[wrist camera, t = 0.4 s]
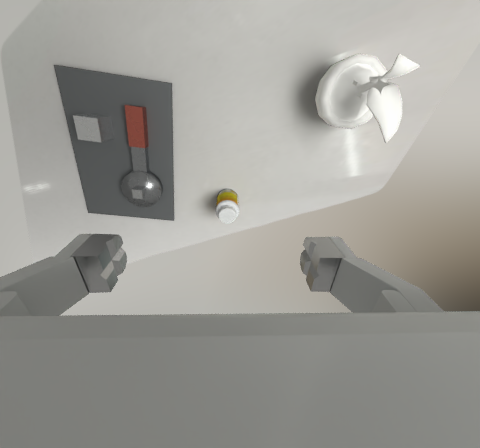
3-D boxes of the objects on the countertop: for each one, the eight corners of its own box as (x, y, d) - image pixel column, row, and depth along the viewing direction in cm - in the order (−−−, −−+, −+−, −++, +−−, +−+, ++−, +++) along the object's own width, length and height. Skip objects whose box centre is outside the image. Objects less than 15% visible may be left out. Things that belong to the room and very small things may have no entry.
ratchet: (115, 102, 46) (103, 103, 41) (159, 108, 47) (152, 110, 42) (127, 201, 57) (119, 209, 52) (163, 204, 58) (158, 213, 53)
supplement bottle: (214, 191, 57) (211, 208, 48) (234, 185, 57) (236, 202, 48) (220, 209, 60) (219, 229, 51) (240, 204, 59) (242, 223, 50)
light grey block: (88, 113, 46) (72, 115, 42) (110, 116, 47) (97, 118, 42) (92, 135, 49) (78, 139, 44) (113, 138, 49) (101, 142, 44)
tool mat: (56, 65, 43) (53, 64, 42) (171, 83, 45) (171, 83, 44) (89, 211, 58) (88, 212, 58) (174, 219, 61) (173, 220, 60)
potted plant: (305, 67, 45) (377, 37, 23) (363, 56, 44) (492, 17, 22) (305, 132, 51) (362, 158, 29) (355, 124, 50) (451, 144, 29)
